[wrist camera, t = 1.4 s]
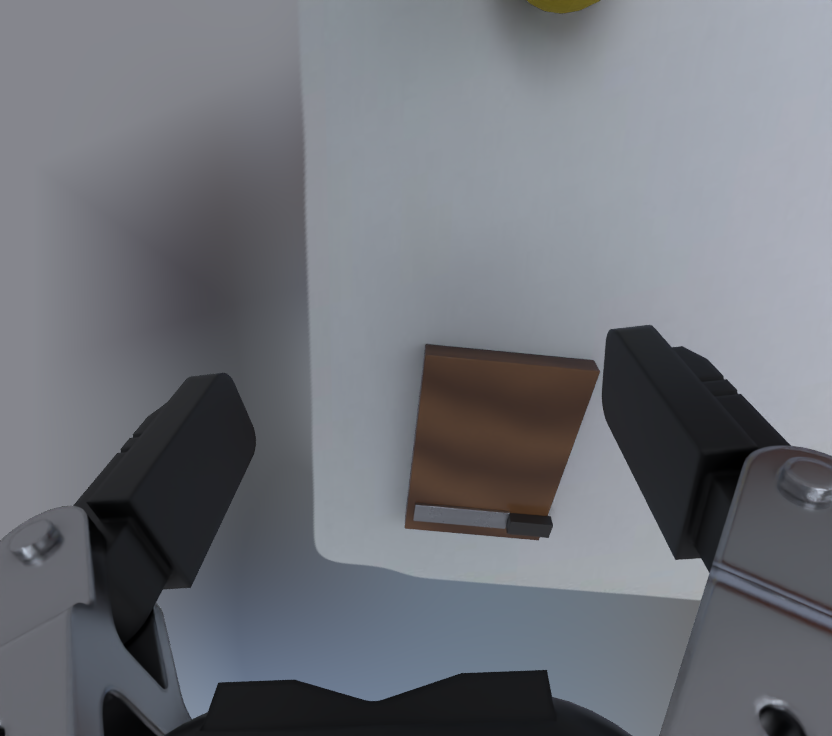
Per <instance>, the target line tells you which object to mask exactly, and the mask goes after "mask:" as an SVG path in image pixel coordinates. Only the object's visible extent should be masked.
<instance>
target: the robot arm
mask: <svg viewBox="0 0 832 736" xmlns="http://www.w3.org/2000/svg"><path fill="white" fill-rule="evenodd" d="M602 405H603V411H604V415H605V419H606V421H607V424H608V426H609V428H610V430H611V432H612V434H613V436H614V438H615V440H616V442H617V444H618V446H619V448H620V450H621V452H622V454H623V456H624V458H625V460H626V462H627V464H628V466H629V468H630V470H631V472H632V474H633V476H634V478H635V480H636V482H637V484H638V486H639V488H640V490H641V492H642V494H643V496H644V498H645V500H646V502H647V504H648V506H649V508H650V510H651V512H652V514H653V516H654V518H655V520H656V522H657V524H658V526H659V528H660V530H661V532H662V534H663V536H664V538H665V540H666V542H667V544H668V546H669V548H670V550H671V552H672V554H673V556H674V558H675V560H679V559H695V558H702V560H703V562H704V564H705V566H706V568H707V569H708V571H709V577H708V580H707V583H706V586H705V589H704V593H703V596H702V599H701V603H700V606H699V609H698V612H697V615H696V619H695V622H694V626H693V628H692V631H691V635H690V638H689V641H688V644H687V648H686V651H685V654H684V657H683V660H682V664H681V667H680V670H679V673H678V677H677V680H676V683H675V686H674V689H673V693H672V696H671V699H670V702H669V706H668V709H667V712H666V715H665V719H664V722H663V725H662V728H661V731H660V735H659V736H832V456H830V455H828V454H825V453H822V452H819V451H815V450H812V449H807V448H803V447H796V446H791V445H790V444H789V443H788V442H787V441H786V440H785V439H784V438H783V437H782V436H781V435H780V434H779V433H778V432H777V431H776V430H775V429H774V428H773V427H772V426H771V425H770V424H769V423H768V422H767V421H766V420H765V419H764V417H763V416H762V415H761V414H760V413H759V412H758V411H757V410H756V409H755V408H754V407H753V406H752V405H751V404H750V403H749V402H748V401H747V400H746V399H745V398H744V397H743V396H742V395H741V394H738V393H737V389H736V388H735V387H734V386H733V385H732V384H731V383H730V382H729V381H728V380H727V379H726V380H724V378H723V375H722V374H721V373H720V372H719V371H718V370H717V369H716V368H715V367H714V366H713V365H712V364H711V362H710V361H709V360H708V359H706V358H704V357H702V356H700V355H698V354H696V353H694V352H692V351H690V350H688V349H686V348H685V347H683V346H681V347H671V346H670V345H669V344H668V343H667V342H666V340H665V339H664V338H663V337H662V336H661V335H660V334H659V332H658V331H657V330H656V329H655V328H654V327H653V326H651V325H644V326H635V327H627V328H618V329H611V330H609V332H608V334H607V338H606V346H605V359H604V372H603V384H602ZM255 446H256V436H255V431H254V427H253V425H252V423H251V420H250V418H249V416H248V413H247V411H246V409H245V406H244V404H243V402H242V400H241V397H240V395H239V393H238V391H237V388H236V386H235V383H234V382H233V380H232V378H231V377H230V376H229V375H228V374H226V373H217V374H207V375H199V376H191V377H189V378H187V379H186V380H185V381H184V383H183V384H182V385H181V386H180V388H179V389H178V390H177V391H176V392H175V394H174V395H173V396H172V397H171V399H170V400H169V401H168V402H167V403H166V404H164V405H163V406H162V407H160V408H159V409H158V410H156V411H155V412H154V413H152V414H151V415H150V416H148V417H147V418H146V419H145V421H144V422H143V423H142V424H141V425H140V427H139V428H138V429H137V430H136V431H135V432H134V434H133V438H129V440H128V441H127V442H126V443H125V444H124V446H123V447H122V448H121V453H117V454H116V455H115V456H114V458H113V459H112V460H111V461H110V462H109V464H108V465H107V466H106V467H105V468H104V470H103V471H102V472H101V473H100V475H99V476H98V477H97V478H96V479H95V480H94V482H93V483H92V484H91V485H90V487H88V489H87V490H86V491H85V492H84V493H83V495H82V496H81V497H80V498H79V499H78V501H77V502H76V503H75V504H74V505H73V506H62V507H58V508H54V509H51V510H48V511H45V512H43V513H41V514H39V515H36V516H34V517H32V518H31V519H29V520H27V521H26V522H24V523H22V524H21V525H19V526H18V527H16V528H15V529H13V530H12V531H11V532H10V533H8V534H7V535H6V536H5V537H4V538H3V539H2V540H0V736H632V735H630V734H629V733H628V732H626V731H625V730H623V729H622V728H620V727H619V726H618V725H616V724H614V723H613V722H611V721H609V720H607V719H606V718H604V717H602V716H600V715H599V714H597V713H595V712H593V711H591V710H589V709H586V708H584V707H581V706H579V705H576V704H574V703H572V702H569V701H565V700H562V699H558V698H554V697H552V695H551V690H550V684H549V679H548V674H547V670H535V671H509V672H483V673H461V674H458V675H455V676H452V677H449V678H446V679H443V680H440V681H437V682H434V683H431V684H428V685H426V686H422V687H419V688H416V689H413V690H410V691H407V692H404V693H402V694H399V695H395V696H393V697H390V698H387V699H384V700H380V701H366V700H362V699H359V698H355V697H352V696H349V695H345V694H342V693H338V692H335V691H331V690H328V689H324V688H321V687H318V686H314V685H311V684H307V683H304V682H300V681H297V680H274V681H249V682H222V683H218V685H217V688H216V691H215V694H214V697H213V699H212V702H211V705H210V708H209V711H208V712H207V713H205V714H203V715H201V716H198V717H196V718H194V719H191V717H190V715H189V713H188V711H187V709H186V707H185V704H184V702H183V698H182V695H181V691H180V686H179V682H178V677H177V673H176V668H175V664H174V659H173V655H172V651H171V647H170V641H169V637H168V633H167V628H166V624H165V619H164V615H163V612H162V609H161V608H160V606H159V605H158V604H157V603H156V601H157V599H158V597H159V595H160V593H161V592H162V590H163V589H175V588H191V586H192V584H193V582H194V580H195V577H196V575H197V573H198V571H199V569H200V567H201V565H202V563H203V561H204V558H205V556H206V554H207V552H208V550H209V548H210V546H211V543H212V541H213V539H214V537H215V535H216V533H217V531H218V529H219V527H220V525H221V523H222V520H223V518H224V516H225V514H226V512H227V510H228V508H229V506H230V504H231V501H232V499H233V497H234V495H235V493H236V491H237V489H238V487H239V485H240V482H241V480H242V478H243V476H244V474H245V472H246V470H247V468H248V465H249V463H250V461H251V459H252V457H253V455H254V451H255Z"/></svg>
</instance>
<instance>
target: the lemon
mask: <svg viewBox="0 0 832 736" xmlns="http://www.w3.org/2000/svg"><path fill="white" fill-rule="evenodd" d="M527 1H528V2H529V3H530V4H531V5H533V6H535V7H537V8H539V9H541V10H543V11H547V12H554V13H568V12H574V11H579V10H582V9H584V8H586V7H588V6H590V5H592V4H594V3H597V2H599V1H600V0H527Z"/></svg>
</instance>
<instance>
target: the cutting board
mask: <svg viewBox="0 0 832 736" xmlns="http://www.w3.org/2000/svg"><path fill="white" fill-rule="evenodd" d="M599 373H600V371H599V369H598V367H597V365H596V363H595V362H594V361H593V360H584V359H573V358H563V357H553V356H542V355H532V354H522V353H511V352H501V351H491V350H480V349H470V348H460V347H449V346H439V345H429V344H426V345H425V353H424V362H423V370H422V379H421V387H420V396H419V405H418V413H417V422H416V430H415V439H414V447H413V456H412V464H411V473H410V481H409V490H408V498H407V507H406V515H405V528H406V529H417V530H429V531H440V532H451V533H462V534H474V535H485V536H496V537H508V538H519V539H530V540H539V538H540V537H534V536H523V535H512V534H507V531H506V528H505V529H501V528H490V527H479V526H467V525H456V524H445V523H434V522H422V521H413V518H414V510H415V503H427V504H438V505H449V506H460V507H471V508H482V509H493V510H505V511H509V512H510V513H519V514H530V515H541V516H548V513H549V510H550V508H551V505H552V502H553V499H554V497H555V494H556V491H557V488H558V486H559V483H560V480H561V477H562V475H563V472H564V469H565V466H566V464H567V461H568V458H569V456H570V453H571V450H572V447H573V445H574V442H575V439H576V436H577V434H578V431H579V428H580V425H581V423H582V420H583V417H584V414H585V412H586V409H587V406H588V403H589V401H590V398H591V395H592V392H593V390H594V387H595V384H596V381H597V379H598V376H599Z"/></svg>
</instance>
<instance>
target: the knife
mask: <svg viewBox="0 0 832 736" xmlns="http://www.w3.org/2000/svg"><path fill="white" fill-rule="evenodd" d="M413 521H422V522H434V523H445V524H456V525H467V526H479V527H490V528H501V529H505V528H506V531H507V534H512V535H523V536H534V537H546V538H549V535H550V532H551V530H552V527H553V523H552V520H551V516H541V515H530V514H519V513H510V512H509V511H505V510H493V509H482V508H471V507H460V506H449V505H438V504H427V503H415V510H414V518H413Z"/></svg>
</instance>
